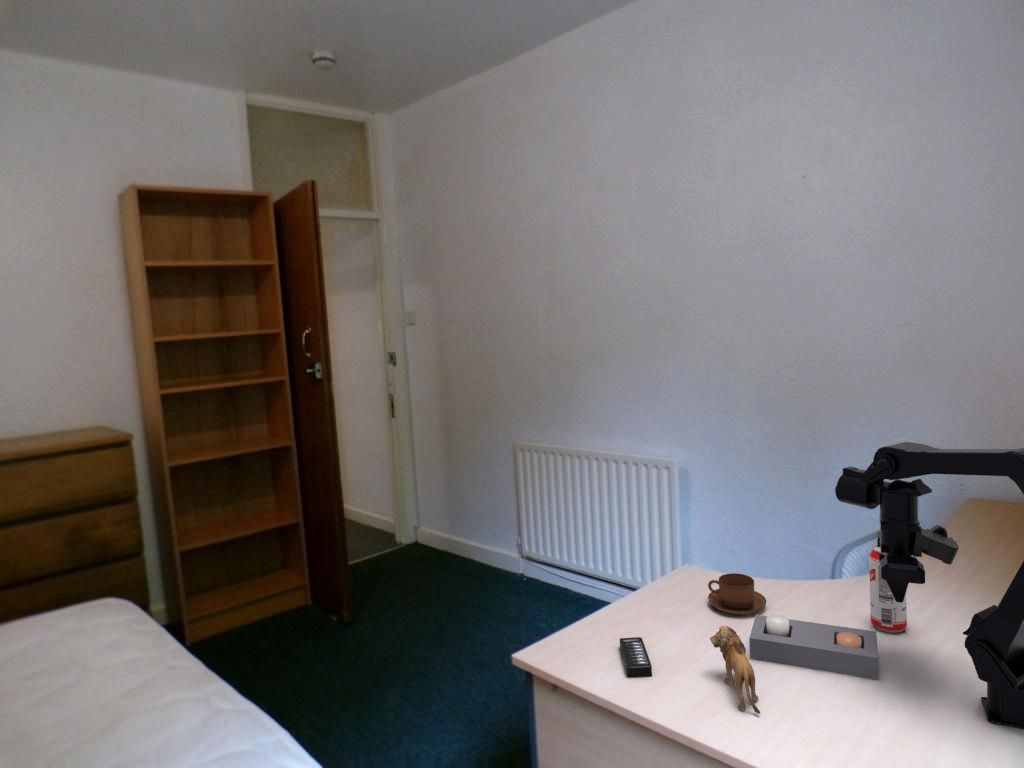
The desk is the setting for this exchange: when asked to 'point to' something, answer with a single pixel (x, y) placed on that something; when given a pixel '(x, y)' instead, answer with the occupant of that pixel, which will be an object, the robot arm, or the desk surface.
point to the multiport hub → (635, 657)
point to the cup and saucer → (736, 595)
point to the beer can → (884, 600)
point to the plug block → (816, 648)
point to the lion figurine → (736, 664)
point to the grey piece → (777, 625)
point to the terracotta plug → (849, 640)
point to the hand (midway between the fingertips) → (899, 601)
